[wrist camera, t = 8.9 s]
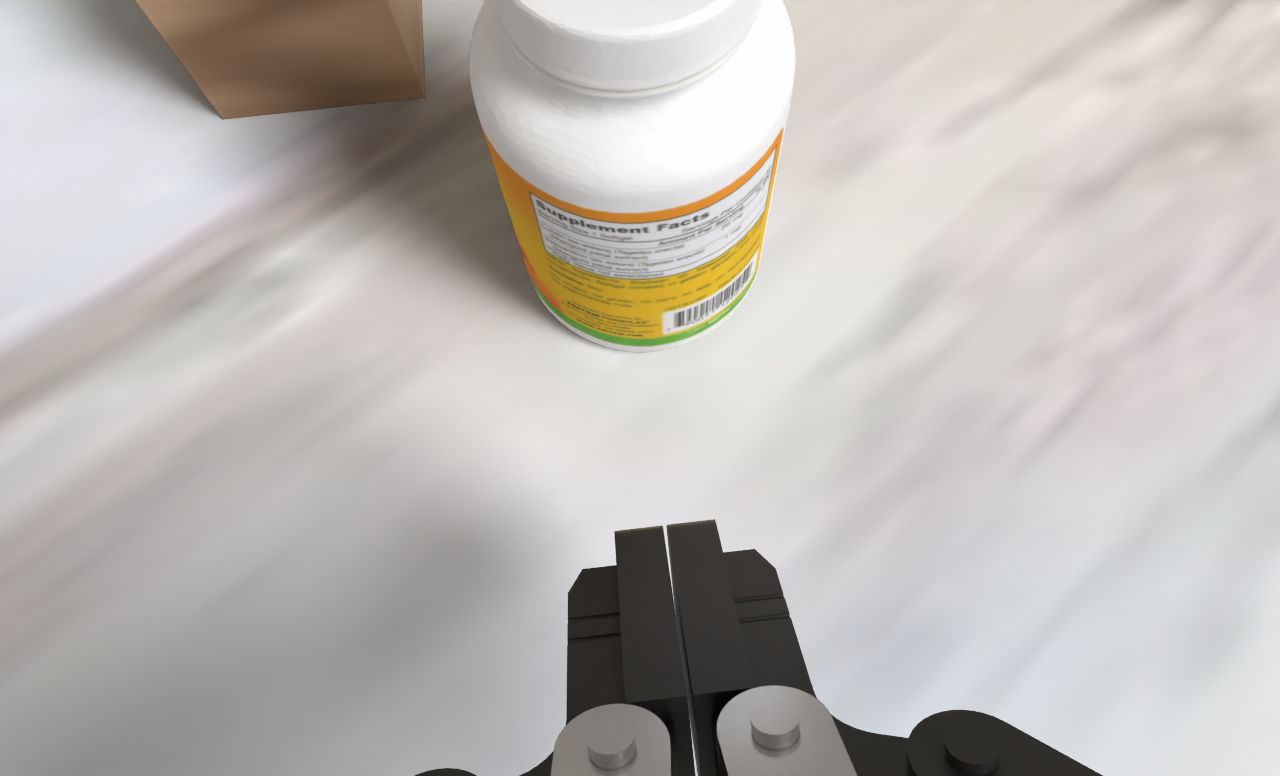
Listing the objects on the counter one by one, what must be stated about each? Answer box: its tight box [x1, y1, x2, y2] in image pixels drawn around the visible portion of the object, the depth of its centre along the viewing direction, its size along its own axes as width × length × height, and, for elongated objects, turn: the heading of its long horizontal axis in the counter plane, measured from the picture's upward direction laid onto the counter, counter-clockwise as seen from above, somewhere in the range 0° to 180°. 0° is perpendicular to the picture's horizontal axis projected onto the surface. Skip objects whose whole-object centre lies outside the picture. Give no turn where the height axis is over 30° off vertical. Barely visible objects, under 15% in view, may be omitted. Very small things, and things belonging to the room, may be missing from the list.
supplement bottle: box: [469, 0, 795, 352], centre depth 18 cm, size 5×5×10 cm
